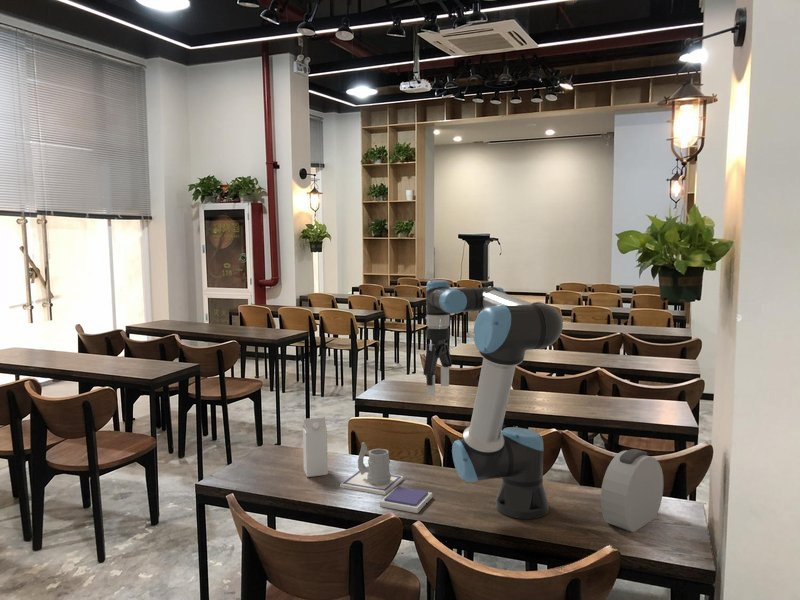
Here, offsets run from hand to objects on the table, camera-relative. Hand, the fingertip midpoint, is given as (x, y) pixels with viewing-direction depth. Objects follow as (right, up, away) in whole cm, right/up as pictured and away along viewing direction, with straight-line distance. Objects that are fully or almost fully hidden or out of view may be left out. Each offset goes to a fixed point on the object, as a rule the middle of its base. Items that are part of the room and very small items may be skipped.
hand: (438, 390), depth 204 cm
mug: (-21, -29, -5) cm, 36 cm away
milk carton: (-42, -29, +5) cm, 51 cm away
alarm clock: (+52, -32, -33) cm, 69 cm away
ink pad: (-11, -31, -20) cm, 38 cm away
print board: (-22, -29, -5) cm, 37 cm away
